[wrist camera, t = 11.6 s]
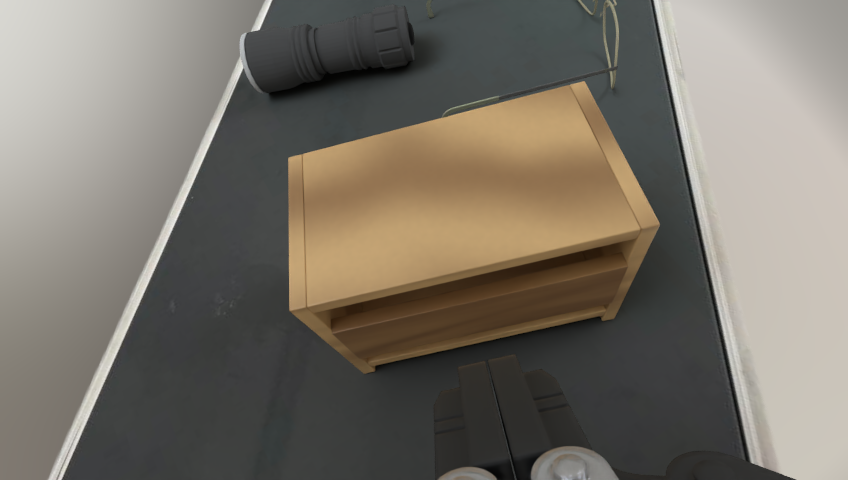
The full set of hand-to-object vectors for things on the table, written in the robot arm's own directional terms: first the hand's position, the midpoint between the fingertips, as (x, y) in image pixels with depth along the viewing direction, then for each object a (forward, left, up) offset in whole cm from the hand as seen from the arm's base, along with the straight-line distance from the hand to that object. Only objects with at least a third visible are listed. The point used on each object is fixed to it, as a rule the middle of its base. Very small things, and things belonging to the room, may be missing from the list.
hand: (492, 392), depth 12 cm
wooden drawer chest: (+11, +2, -16) cm, 19 cm away
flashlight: (+34, +13, -16) cm, 40 cm away
